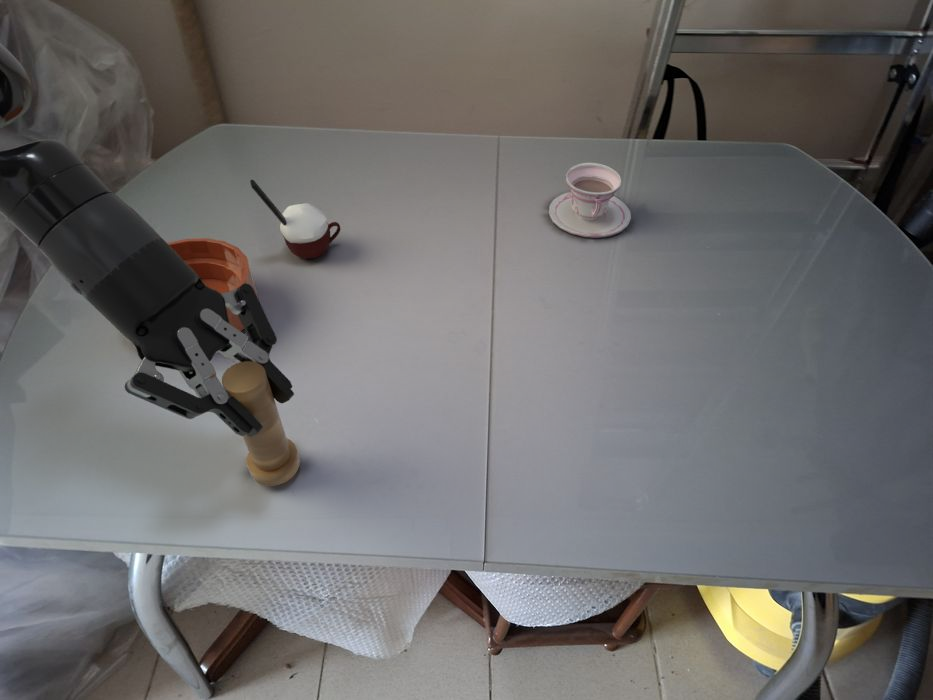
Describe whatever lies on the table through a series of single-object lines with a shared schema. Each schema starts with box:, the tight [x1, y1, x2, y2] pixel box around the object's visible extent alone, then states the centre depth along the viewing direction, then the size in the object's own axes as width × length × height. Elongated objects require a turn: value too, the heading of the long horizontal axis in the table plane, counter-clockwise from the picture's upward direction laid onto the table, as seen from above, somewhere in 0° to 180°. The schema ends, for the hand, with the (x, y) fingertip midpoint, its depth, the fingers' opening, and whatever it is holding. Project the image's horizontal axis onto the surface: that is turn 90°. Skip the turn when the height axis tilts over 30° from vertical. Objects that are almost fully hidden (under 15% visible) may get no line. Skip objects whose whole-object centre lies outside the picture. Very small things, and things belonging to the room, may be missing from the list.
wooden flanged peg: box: [221, 361, 301, 487], centre depth 60 cm, size 5×5×13 cm
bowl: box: [166, 237, 260, 332], centre depth 79 cm, size 15×15×6 cm
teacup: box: [548, 162, 632, 239], centre depth 95 cm, size 12×12×6 cm
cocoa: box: [249, 179, 341, 260], centre depth 86 cm, size 10×6×12 cm, turn 89°
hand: (272, 414), depth 57 cm, fingers closed on wooden flanged peg, 3 cm apart
